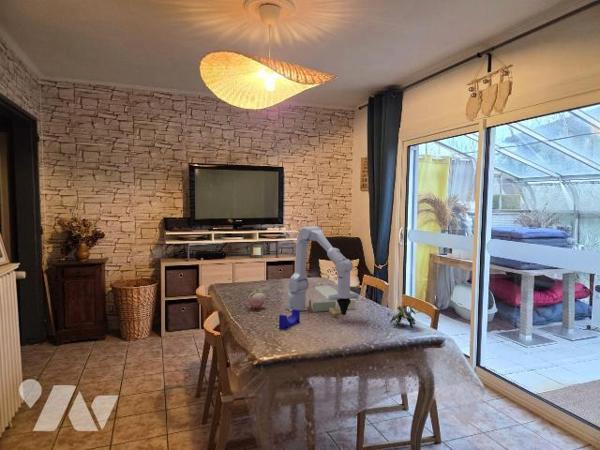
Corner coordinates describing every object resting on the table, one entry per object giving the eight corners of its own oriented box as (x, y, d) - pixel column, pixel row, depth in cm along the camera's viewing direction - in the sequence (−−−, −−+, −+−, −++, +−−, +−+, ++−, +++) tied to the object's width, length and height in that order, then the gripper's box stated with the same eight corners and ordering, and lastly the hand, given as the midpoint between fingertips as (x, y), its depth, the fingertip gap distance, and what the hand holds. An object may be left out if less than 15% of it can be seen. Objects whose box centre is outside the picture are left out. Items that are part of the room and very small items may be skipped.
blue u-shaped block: (291, 321, 178) (291, 308, 178) (299, 323, 176) (299, 310, 176) (276, 328, 168) (276, 314, 168) (284, 330, 166) (284, 316, 166)
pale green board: (309, 312, 192) (309, 300, 192) (308, 311, 193) (308, 300, 193) (355, 308, 200) (355, 297, 199) (354, 308, 201) (354, 297, 201)
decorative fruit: (256, 305, 204) (256, 287, 203) (268, 308, 199) (268, 289, 199) (243, 309, 196) (244, 290, 196) (255, 312, 192) (256, 292, 191)
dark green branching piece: (410, 339, 171) (423, 322, 164) (388, 336, 169) (400, 318, 162) (404, 319, 180) (415, 302, 173) (382, 315, 178) (393, 298, 171)
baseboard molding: (325, 300, 219) (345, 299, 222) (325, 295, 219) (345, 294, 221) (312, 288, 249) (329, 288, 252) (312, 284, 249) (329, 283, 252)
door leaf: (313, 311, 193) (313, 302, 193) (312, 310, 195) (312, 302, 194) (335, 310, 197) (335, 301, 196) (334, 309, 198) (334, 300, 198)
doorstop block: (333, 318, 184) (333, 313, 184) (329, 312, 194) (329, 307, 194) (341, 318, 184) (341, 313, 184) (336, 312, 194) (336, 307, 194)
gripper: (332, 288, 173) (332, 318, 174) (361, 286, 177) (361, 315, 178) (326, 285, 180) (326, 313, 180) (355, 283, 184) (354, 311, 185)
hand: (343, 314), depth 180 cm, fingers closed
